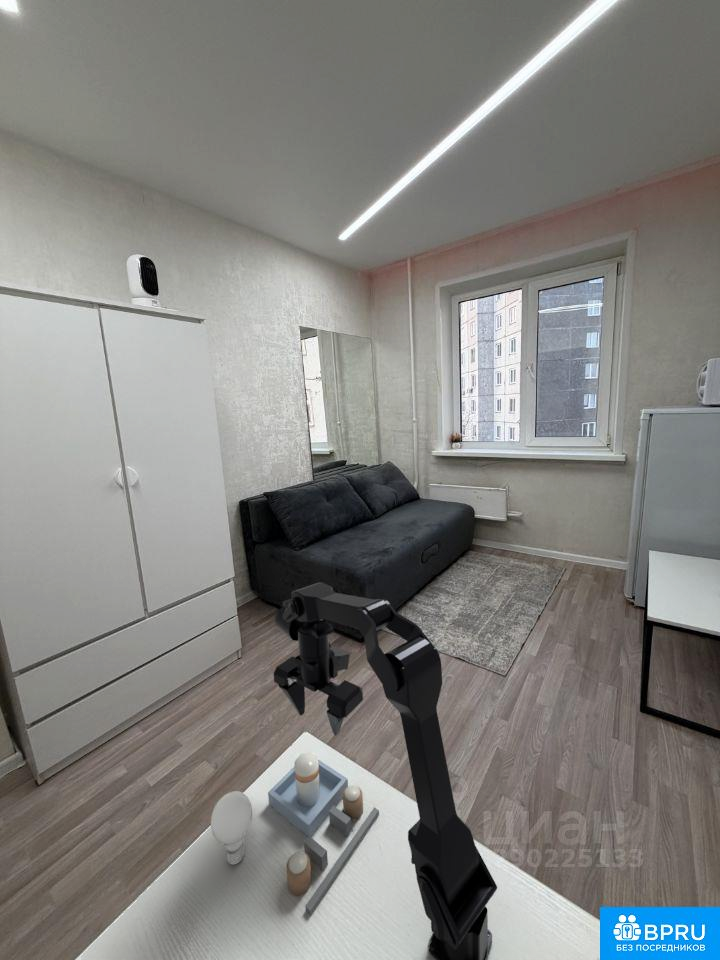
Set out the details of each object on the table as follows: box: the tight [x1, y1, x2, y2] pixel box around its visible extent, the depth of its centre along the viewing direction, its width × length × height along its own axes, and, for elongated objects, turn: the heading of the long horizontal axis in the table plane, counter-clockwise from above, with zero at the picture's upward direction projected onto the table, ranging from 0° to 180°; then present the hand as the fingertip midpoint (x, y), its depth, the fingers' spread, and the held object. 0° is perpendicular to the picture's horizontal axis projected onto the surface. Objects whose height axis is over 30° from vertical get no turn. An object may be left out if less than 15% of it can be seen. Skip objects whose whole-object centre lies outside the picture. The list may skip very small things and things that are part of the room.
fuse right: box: [342, 784, 364, 821], centre depth 69 cm, size 4×4×4 cm
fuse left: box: [285, 851, 312, 897], centre depth 58 cm, size 4×4×4 cm
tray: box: [267, 759, 349, 838], centre depth 72 cm, size 11×11×2 cm
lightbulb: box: [210, 790, 253, 865], centre depth 61 cm, size 6×6×11 cm
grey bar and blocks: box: [303, 806, 380, 916], centre depth 63 cm, size 6×18×2 cm, turn 143°
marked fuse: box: [293, 752, 320, 807], centre depth 71 cm, size 4×4×7 cm
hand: (318, 723), depth 74 cm, fingers open, 9 cm apart
